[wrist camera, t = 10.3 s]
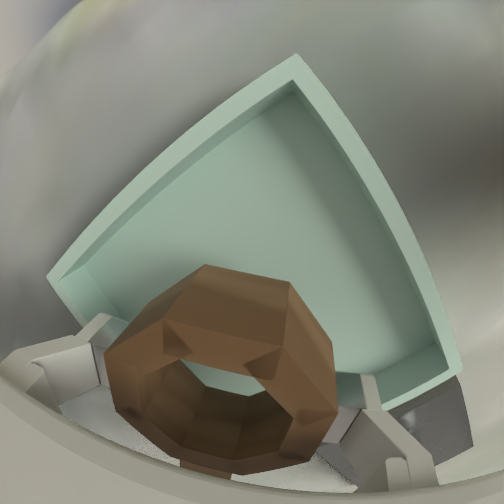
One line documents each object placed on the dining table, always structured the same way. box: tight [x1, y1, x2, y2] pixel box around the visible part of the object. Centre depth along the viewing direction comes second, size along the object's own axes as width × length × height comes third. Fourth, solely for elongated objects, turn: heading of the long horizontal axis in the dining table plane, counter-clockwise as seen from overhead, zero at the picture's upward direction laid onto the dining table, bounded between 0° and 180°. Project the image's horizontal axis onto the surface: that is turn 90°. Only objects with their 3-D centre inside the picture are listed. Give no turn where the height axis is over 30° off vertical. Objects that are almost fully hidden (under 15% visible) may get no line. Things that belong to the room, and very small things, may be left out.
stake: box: [316, 375, 473, 487], centre depth 12 cm, size 9×9×5 cm
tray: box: [46, 53, 463, 411], centre depth 11 cm, size 13×13×2 cm
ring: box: [103, 264, 339, 480], centre depth 9 cm, size 9×6×3 cm
